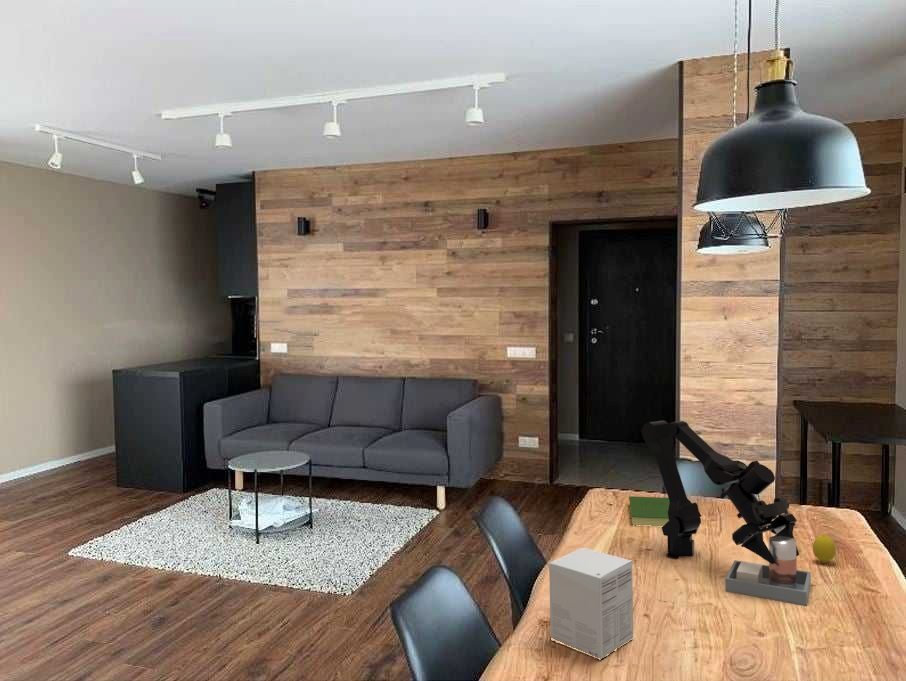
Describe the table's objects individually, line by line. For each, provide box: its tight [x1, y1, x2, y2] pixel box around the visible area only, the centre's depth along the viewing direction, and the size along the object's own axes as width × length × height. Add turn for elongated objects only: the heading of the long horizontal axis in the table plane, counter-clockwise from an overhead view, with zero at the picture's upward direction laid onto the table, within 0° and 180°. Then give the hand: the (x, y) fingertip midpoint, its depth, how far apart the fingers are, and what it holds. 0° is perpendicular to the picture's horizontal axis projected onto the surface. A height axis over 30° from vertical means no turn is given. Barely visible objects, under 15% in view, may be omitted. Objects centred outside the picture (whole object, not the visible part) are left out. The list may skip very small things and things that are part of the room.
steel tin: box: [768, 535, 798, 589], centre depth 171 cm, size 6×6×13 cm
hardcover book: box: [628, 495, 670, 526], centre depth 238 cm, size 25×19×4 cm
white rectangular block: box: [737, 560, 763, 583], centre depth 177 cm, size 5×8×4 cm, turn 149°
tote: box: [724, 560, 812, 606], centre depth 174 cm, size 18×14×4 cm
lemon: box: [812, 534, 837, 564], centre depth 192 cm, size 6×6×8 cm
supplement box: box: [548, 547, 634, 659], centre depth 151 cm, size 13×13×18 cm
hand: (786, 559), depth 171 cm, fingers open, 9 cm apart
